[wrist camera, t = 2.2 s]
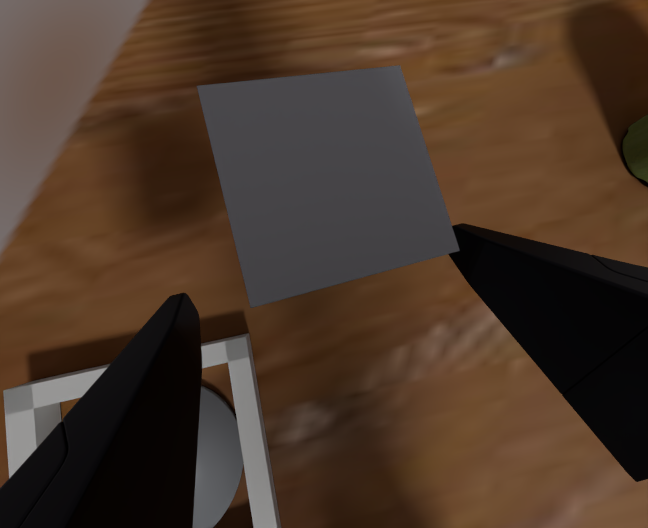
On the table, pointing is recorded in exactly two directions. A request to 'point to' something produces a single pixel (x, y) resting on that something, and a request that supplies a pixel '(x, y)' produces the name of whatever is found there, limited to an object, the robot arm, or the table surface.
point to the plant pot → (637, 148)
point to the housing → (213, 435)
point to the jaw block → (324, 179)
